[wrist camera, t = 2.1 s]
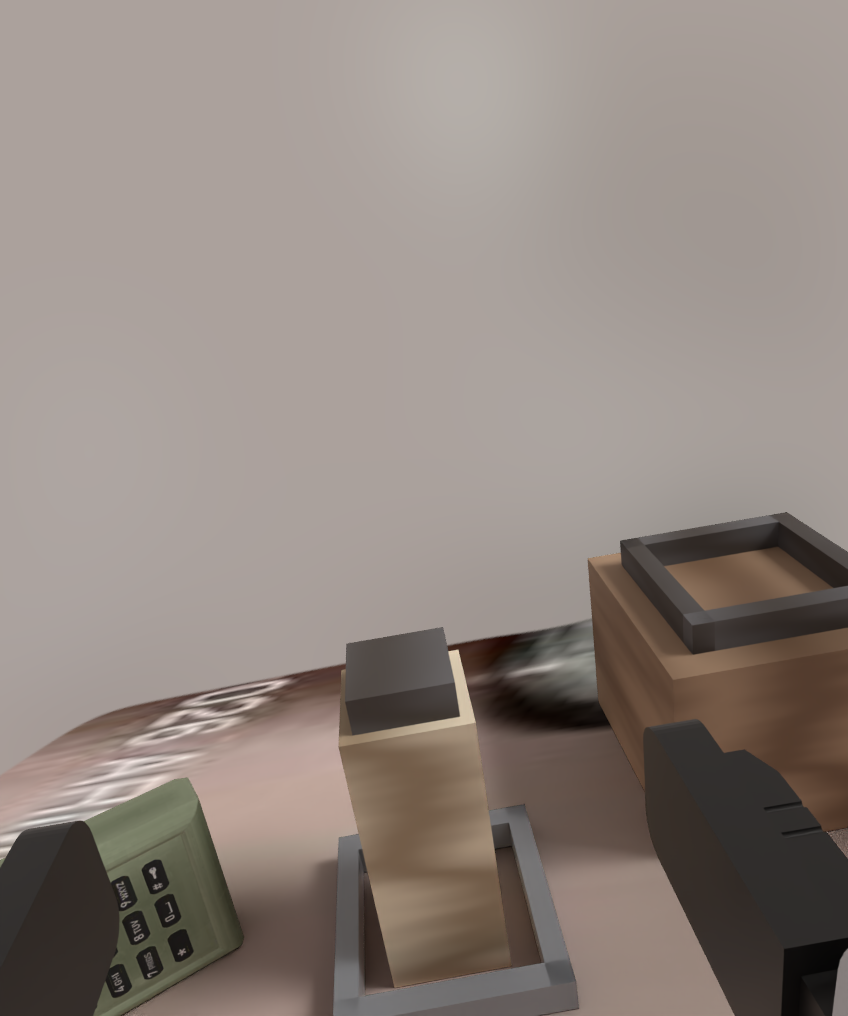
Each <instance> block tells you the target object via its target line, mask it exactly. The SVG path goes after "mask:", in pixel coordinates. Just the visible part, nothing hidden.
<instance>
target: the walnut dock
mask: <svg viewBox="0 0 848 1016" xmlns="http://www.w3.org/2000/svg"><path fill="white" fill-rule="evenodd" d="M620 547H621V553H617V554H611V555H605V556H599V557H593V558H588V569H589V582H590V596H591V609H592V623H593V636H594V649H595V663H596V676H597V689H598V702H599V704H600V706H601V708H602V709H603V711H604V713H605V715H606V717H607V719H608V721H609V723H610V725H611V727H612V729H613V731H614V733H615V735H616V737H617V739H618V741H619V743H620V745H621V747H622V748H623V750H624V752H625V754H626V756H627V758H628V760H629V762H630V764H631V766H632V768H633V770H634V772H635V774H636V776H637V778H638V780H639V782H640V784H641V786H642V788H643V789H644V791H645V775H644V750H643V733H644V730H645V728H646V727H651V726H657V725H663V724H669V723H675V722H680V721H686V720H692V719H698V720H700V721H701V722H702V723H703V724H704V726H705V727H706V728H707V730H708V731H709V733H710V734H711V735H712V737H713V738H714V740H715V741H716V742H717V744H718V745H719V747H720V748H721V749H722V751H723V752H724V753H726V752H732V751H738V750H744V749H745V750H746V751H748V752H749V753H751V754H752V755H754V756H755V757H757V758H759V759H760V760H762V761H763V762H765V763H766V764H768V765H769V766H771V767H772V768H774V769H775V770H777V771H778V772H779V773H780V774H781V775H782V777H783V778H784V779H785V780H786V782H787V783H788V784H789V785H790V787H791V788H792V789H793V790H794V792H795V793H796V794H797V796H798V797H799V798H800V799H801V801H802V804H803V806H804V807H807V808H808V809H809V811H810V812H811V813H812V814H813V816H814V817H815V818H816V820H817V821H818V822H819V823H820V825H821V827H822V830H823V832H826V831H831V830H836V829H842V828H847V827H848V552H847V551H845V550H844V549H842V548H841V547H839V546H838V545H836V544H835V543H833V542H832V541H830V540H828V539H827V538H825V537H824V536H822V535H821V534H819V533H818V532H816V531H815V530H813V529H811V528H810V527H809V526H807V525H805V524H804V523H802V522H801V521H799V520H798V519H796V518H795V517H793V516H792V515H790V514H789V513H787V512H785V513H780V514H774V515H769V516H762V517H756V518H750V519H744V520H739V521H734V522H727V523H721V524H715V525H709V526H704V527H698V528H692V529H687V530H680V531H674V532H669V533H663V534H657V535H652V536H645V537H639V538H634V539H627V540H622V541H620Z"/></svg>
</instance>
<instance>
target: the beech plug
mask: <svg viewBox="0 0 848 1016" xmlns="http://www.w3.org/2000/svg"><path fill="white" fill-rule="evenodd" d="M339 751H340V755H341V759H342V763H343V768H344V772H345V776H346V781H347V785H348V789H349V794H350V798H351V802H352V807H353V811H354V815H355V820H356V824H357V828H358V833H359V837H360V841H361V846H362V850H363V854H364V859H365V863H366V867H367V871H368V876H369V880H370V884H371V889H372V893H373V897H374V902H375V906H376V910H377V915H378V919H379V923H380V928H381V932H382V936H383V941H384V945H385V949H386V954H387V958H388V962H389V966H390V971H391V975H392V979H393V984H394V988H397V987H403V986H408V985H413V984H419V983H424V982H430V981H435V980H440V979H446V978H451V977H457V976H462V975H467V974H473V973H478V972H484V971H489V970H494V969H500V968H505V967H510V966H512V965H511V958H510V951H509V944H508V938H507V931H506V924H505V917H504V911H503V904H502V897H501V890H500V884H499V877H498V870H497V863H496V857H495V850H494V843H493V836H492V830H491V823H490V816H489V809H488V803H487V796H486V789H485V782H484V776H483V769H482V762H481V755H480V749H479V742H478V735H477V728H476V722H475V718H474V714H473V709H472V705H471V701H470V697H469V693H468V689H467V685H466V680H465V676H464V672H463V668H462V664H461V660H460V655H459V651H458V650H455V651H449V652H448V648H447V643H446V639H445V634H444V630H443V627H441V628H435V629H430V630H424V631H418V632H412V633H407V634H401V635H395V636H389V637H383V638H378V639H372V640H366V641H360V642H354V643H348V644H347V647H346V669H345V670H342V671H341V698H340V725H339Z"/></svg>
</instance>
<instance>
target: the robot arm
mask: <svg viewBox="0 0 848 1016" xmlns="http://www.w3.org/2000/svg"><path fill="white" fill-rule="evenodd" d="M643 750H644V775H645V800H646V815H647V822H648V827H649V831H650V835H651V839H652V842H653V845H654V848H655V851H656V853H657V856H658V858H659V860H660V862H661V865H662V867H663V869H664V871H665V873H666V875H667V877H668V879H669V881H670V883H671V885H672V887H673V889H674V891H675V893H676V895H677V897H678V900H679V902H680V904H681V906H682V908H683V910H684V912H685V914H686V916H687V918H688V920H689V922H690V924H691V926H692V928H693V930H694V933H695V935H696V937H697V939H698V941H699V943H700V945H701V947H702V949H703V951H704V953H705V955H706V957H707V959H708V961H709V963H710V965H711V968H712V970H713V972H714V974H715V976H716V978H717V980H718V982H719V984H720V986H721V988H722V990H723V992H724V994H725V996H726V998H727V1000H728V1003H729V1005H730V1007H731V1009H732V1011H733V1013H734V1015H735V1016H848V859H847V857H846V856H845V855H844V854H843V852H842V851H841V850H840V849H839V847H838V846H837V845H836V844H835V842H834V841H833V840H832V838H831V837H830V836H829V835H828V833H827V832H823V830H822V827H821V825H820V823H819V822H818V821H817V820H816V818H815V817H814V816H813V814H812V813H811V812H810V811H809V809H808V808H807V807H804V806H803V804H802V801H801V799H800V798H799V797H798V796H797V794H796V793H795V792H794V790H793V789H792V788H791V787H790V785H789V784H788V783H787V782H786V780H785V779H784V778H783V777H782V775H781V774H780V773H779V772H778V771H777V770H775V769H774V768H772V767H771V766H769V765H768V764H766V763H765V762H763V761H762V760H760V759H759V758H757V757H755V756H754V755H752V754H751V753H749V752H748V751H746V750H745V749H744V750H738V751H732V752H726V753H724V752H723V751H722V749H721V748H720V747H719V745H718V744H717V742H716V741H715V740H714V738H713V737H712V735H711V734H710V733H709V731H708V730H707V728H706V727H705V726H704V724H703V723H702V722H701V721H700V720H698V719H692V720H686V721H680V722H675V723H669V724H663V725H657V726H651V727H646V728H645V730H644V733H643ZM119 922H120V920H119V908H118V903H117V899H116V896H115V893H114V891H113V888H112V885H111V883H110V880H109V877H108V875H107V872H106V869H105V867H104V864H103V861H102V859H101V856H100V853H99V851H98V848H97V845H96V843H95V840H94V837H93V834H92V832H91V830H90V828H89V826H88V825H87V824H86V823H85V822H83V821H74V822H68V823H62V824H56V825H50V826H44V827H38V828H32V829H28V830H25V831H23V832H22V833H21V834H20V835H19V836H18V838H17V839H16V841H15V842H14V844H13V846H12V848H11V849H10V851H9V853H8V855H7V856H6V858H5V860H4V862H3V863H2V865H1V867H0V1016H93V1015H94V1012H95V1009H96V1006H97V1003H98V1000H99V998H100V995H101V992H102V989H103V986H104V983H105V980H106V977H107V974H108V971H109V968H110V965H111V963H112V960H113V957H114V954H115V951H116V947H117V943H118V937H119Z"/></svg>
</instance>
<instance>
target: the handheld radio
mask: <svg viewBox="0 0 848 1016" xmlns="http://www.w3.org/2000/svg"><path fill="white" fill-rule="evenodd" d="M84 822H85V823H86V824H87V825H88V826H89V828H90V830H91V832H92V834H93V837H94V840H95V843H96V845H97V848H98V851H99V853H100V856H101V859H102V861H103V864H104V867H105V869H106V872H107V875H108V877H109V880H110V883H111V885H112V888H113V891H114V893H115V896H116V899H117V903H118V908H119V920H120V922H119V937H118V943H117V947H116V951H115V954H114V957H113V960H112V963H111V965H110V968H109V971H108V974H107V977H106V980H105V983H104V986H103V989H102V992H101V995H100V998H99V1000H98V1003H97V1006H96V1009H95V1012H94V1015H93V1016H121V1015H123V1014H124V1013H126V1012H128V1011H129V1010H131V1009H133V1008H135V1007H136V1006H138V1005H140V1004H141V1003H143V1002H145V1001H147V1000H148V999H150V998H152V997H153V996H155V995H157V994H159V993H160V992H162V991H164V990H165V989H167V988H169V987H171V986H172V985H174V984H176V983H178V982H179V981H181V980H183V979H184V978H186V977H188V976H190V975H191V974H193V973H195V972H196V971H198V970H200V969H202V968H203V967H205V966H207V965H208V964H210V963H212V962H214V961H215V960H217V959H219V958H220V957H222V956H224V955H226V954H227V953H229V952H231V951H232V950H234V949H236V948H238V947H239V946H241V945H242V942H243V939H244V936H243V933H242V930H241V927H240V924H239V921H238V918H237V915H236V912H235V909H234V905H233V902H232V899H231V896H230V893H229V890H228V887H227V884H226V881H225V878H224V875H223V872H222V869H221V866H220V863H219V860H218V856H217V853H216V850H215V847H214V844H213V841H212V838H211V835H210V832H209V829H208V826H207V823H206V820H205V817H204V814H203V810H202V807H201V804H200V801H199V798H198V796H197V794H196V792H195V790H194V789H193V787H192V785H191V783H190V781H189V779H188V778H181V779H174V780H172V781H170V782H168V783H166V784H164V785H161V786H159V787H157V788H155V789H153V790H151V791H148V792H146V793H144V794H142V795H140V796H138V797H135V798H133V799H131V800H129V801H127V802H125V803H123V804H120V805H118V806H116V807H114V808H112V809H110V810H107V811H105V812H103V813H101V814H99V815H97V816H94V817H92V818H90V819H88V820H86V821H84ZM4 860H5V858H4V859H1V860H0V867H1V865H2V863H3V862H4Z"/></svg>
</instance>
